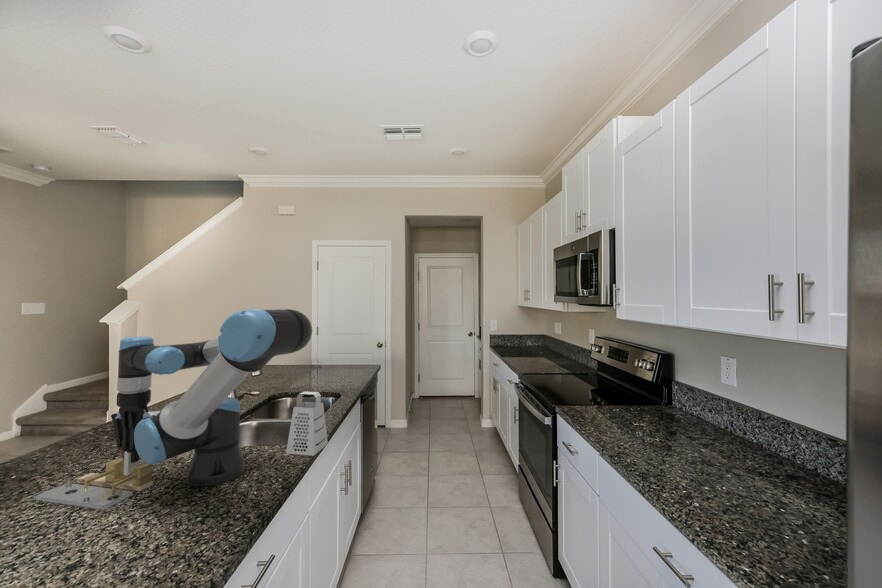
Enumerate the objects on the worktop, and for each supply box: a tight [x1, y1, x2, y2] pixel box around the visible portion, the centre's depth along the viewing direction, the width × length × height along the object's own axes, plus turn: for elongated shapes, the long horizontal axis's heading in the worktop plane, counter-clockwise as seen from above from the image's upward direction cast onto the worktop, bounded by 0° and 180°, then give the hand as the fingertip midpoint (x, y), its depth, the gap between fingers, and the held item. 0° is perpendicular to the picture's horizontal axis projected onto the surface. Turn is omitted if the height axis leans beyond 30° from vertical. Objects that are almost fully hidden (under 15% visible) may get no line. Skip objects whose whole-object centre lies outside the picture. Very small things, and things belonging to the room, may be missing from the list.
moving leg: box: [83, 457, 128, 491], centre depth 100 cm, size 3×10×5 cm, turn 169°
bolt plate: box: [35, 482, 133, 511], centre depth 96 cm, size 22×7×1 cm, turn 79°
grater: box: [285, 391, 329, 457], centre depth 130 cm, size 10×10×20 cm
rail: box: [76, 462, 154, 495], centre depth 100 cm, size 22×10×6 cm, turn 79°
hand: (130, 472), depth 103 cm, fingers closed
